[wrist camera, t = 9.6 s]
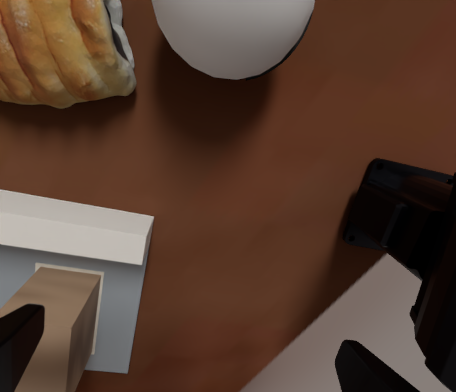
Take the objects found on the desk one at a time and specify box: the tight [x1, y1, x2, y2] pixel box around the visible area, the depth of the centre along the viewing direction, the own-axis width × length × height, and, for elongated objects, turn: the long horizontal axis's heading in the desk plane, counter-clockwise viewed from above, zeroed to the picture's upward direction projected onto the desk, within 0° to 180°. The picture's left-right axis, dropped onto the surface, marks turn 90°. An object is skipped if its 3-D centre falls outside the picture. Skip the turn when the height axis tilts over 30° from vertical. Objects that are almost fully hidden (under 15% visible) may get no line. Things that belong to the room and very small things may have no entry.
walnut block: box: [0, 267, 101, 392], centre depth 19 cm, size 7×4×5 cm, turn 167°
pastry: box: [0, 0, 136, 109], centre depth 15 cm, size 9×7×4 cm
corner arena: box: [0, 190, 154, 373], centre depth 19 cm, size 14×14×3 cm
